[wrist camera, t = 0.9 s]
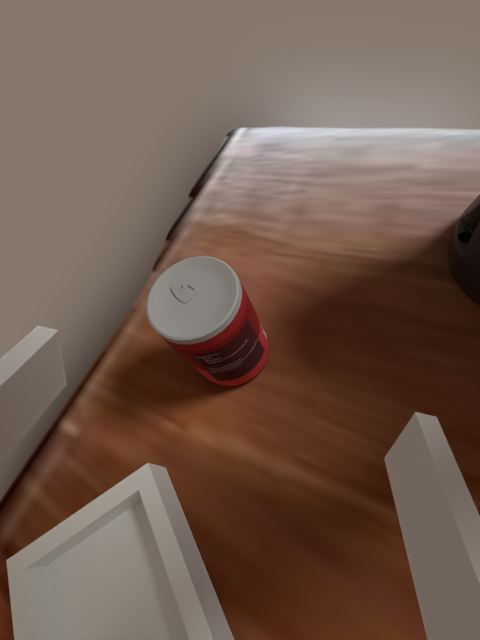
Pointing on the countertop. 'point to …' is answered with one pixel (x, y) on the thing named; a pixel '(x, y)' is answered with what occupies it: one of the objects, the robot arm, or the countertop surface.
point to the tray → (117, 572)
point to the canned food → (209, 320)
